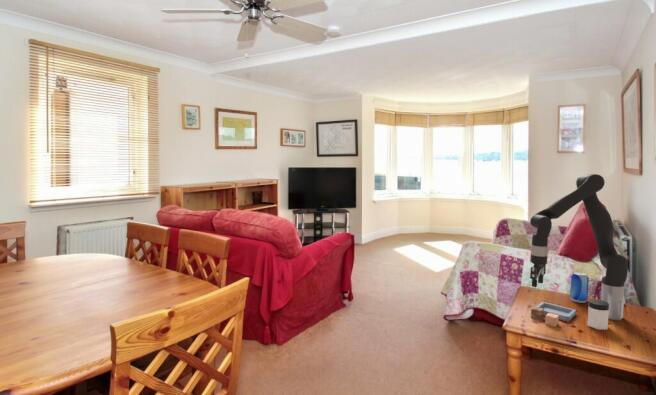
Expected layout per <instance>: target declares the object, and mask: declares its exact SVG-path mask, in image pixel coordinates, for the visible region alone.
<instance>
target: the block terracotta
mask: <svg viewBox="0 0 656 395" xmlns="http://www.w3.org/2000/svg"><path fill="white" fill-rule="evenodd" d="M544 322H545V323H544V324H545V325H547V326H551V327H555V328H556V327H557V326H558V325H559V322H560V319H559V315H555V314H552V313H548V314H547V315H546V316H545V321H544Z"/></svg>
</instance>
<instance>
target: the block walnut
mask: <svg viewBox="0 0 656 395" xmlns="http://www.w3.org/2000/svg"><path fill="white" fill-rule="evenodd" d="M543 314H544V309H543V308H539V307H536V305H534V306H533V307H531V308H530V318H533V317H534V319H537V320H542V319H543V318H544V315H543Z"/></svg>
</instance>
